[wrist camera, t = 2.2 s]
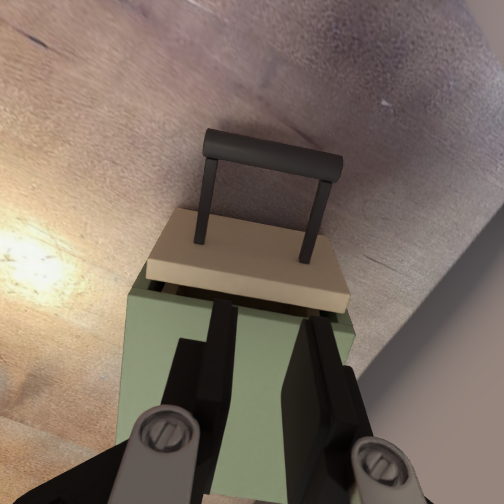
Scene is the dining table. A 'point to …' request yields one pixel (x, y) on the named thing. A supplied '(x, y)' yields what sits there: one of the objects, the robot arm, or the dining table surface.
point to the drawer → (253, 239)
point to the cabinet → (243, 387)
